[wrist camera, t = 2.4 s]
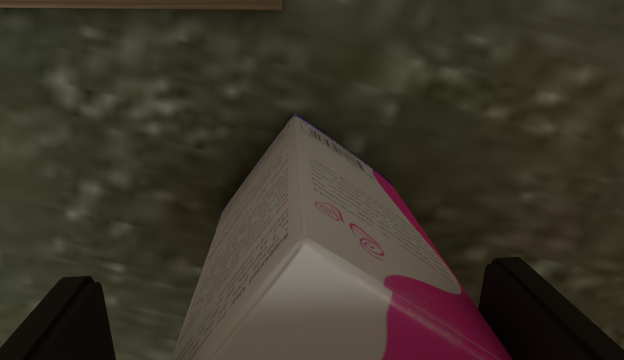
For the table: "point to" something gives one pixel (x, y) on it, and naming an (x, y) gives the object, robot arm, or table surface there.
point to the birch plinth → (147, 4)
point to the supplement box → (326, 269)
